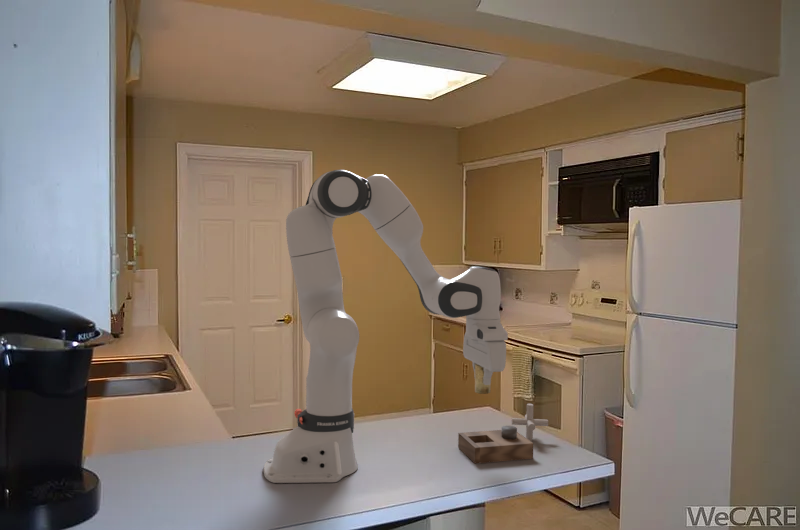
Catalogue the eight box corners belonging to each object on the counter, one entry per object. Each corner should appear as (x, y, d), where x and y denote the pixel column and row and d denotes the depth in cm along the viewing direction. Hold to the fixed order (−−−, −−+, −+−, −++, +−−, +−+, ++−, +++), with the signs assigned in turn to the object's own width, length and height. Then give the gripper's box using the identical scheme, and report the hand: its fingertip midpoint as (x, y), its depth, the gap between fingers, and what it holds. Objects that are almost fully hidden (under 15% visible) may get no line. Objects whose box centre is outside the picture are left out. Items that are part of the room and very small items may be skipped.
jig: (474, 463, 151) (475, 438, 151) (458, 447, 162) (458, 424, 162) (533, 458, 155) (533, 434, 155) (512, 443, 166) (513, 420, 166)
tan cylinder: (478, 394, 154) (478, 367, 154) (472, 390, 158) (472, 363, 158) (492, 393, 155) (493, 366, 155) (486, 389, 159) (487, 363, 159)
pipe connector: (544, 434, 174) (545, 400, 174) (550, 446, 164) (550, 410, 164) (509, 433, 175) (510, 399, 175) (512, 444, 165) (513, 408, 165)
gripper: (457, 323, 165) (457, 373, 166) (487, 335, 146) (486, 392, 146) (479, 323, 167) (478, 372, 168) (511, 334, 147) (510, 390, 148)
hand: (482, 381), depth 157 cm, fingers closed on tan cylinder, 4 cm apart
